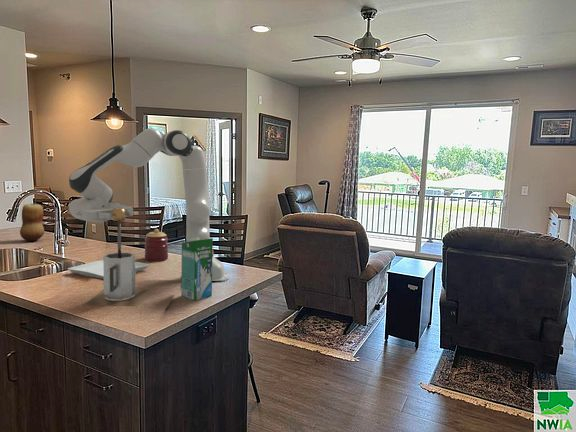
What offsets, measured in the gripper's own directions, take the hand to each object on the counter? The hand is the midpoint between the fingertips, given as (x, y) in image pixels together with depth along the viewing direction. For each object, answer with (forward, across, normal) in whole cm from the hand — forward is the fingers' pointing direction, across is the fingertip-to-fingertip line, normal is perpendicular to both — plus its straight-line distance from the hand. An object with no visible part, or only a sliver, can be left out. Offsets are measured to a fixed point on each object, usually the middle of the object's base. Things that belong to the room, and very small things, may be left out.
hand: (120, 214), depth 151 cm
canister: (-45, +56, +35) cm, 80 cm away
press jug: (0, -1, +33) cm, 33 cm away
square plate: (-40, +23, +35) cm, 58 cm away
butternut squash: (-145, +38, +35) cm, 154 cm away
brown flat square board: (-1, 0, +34) cm, 35 cm away
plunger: (-1, 0, +22) cm, 22 cm away
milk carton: (+19, +22, +35) cm, 45 cm away
